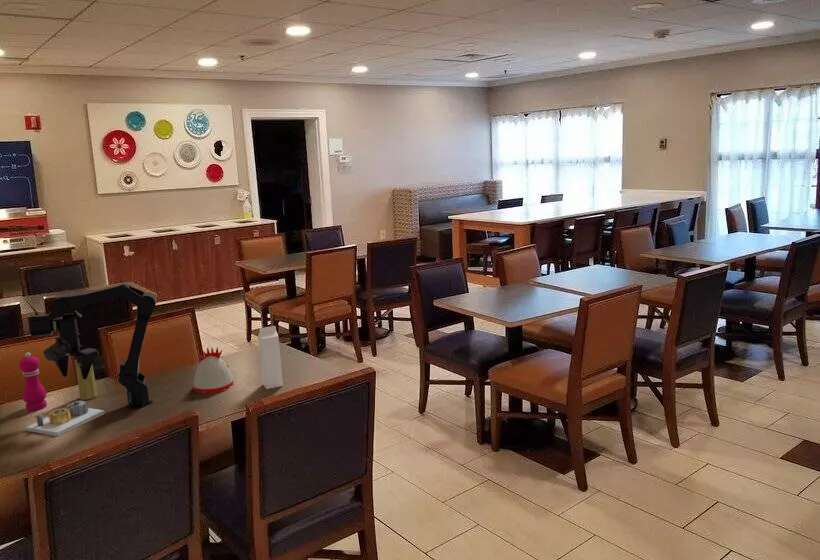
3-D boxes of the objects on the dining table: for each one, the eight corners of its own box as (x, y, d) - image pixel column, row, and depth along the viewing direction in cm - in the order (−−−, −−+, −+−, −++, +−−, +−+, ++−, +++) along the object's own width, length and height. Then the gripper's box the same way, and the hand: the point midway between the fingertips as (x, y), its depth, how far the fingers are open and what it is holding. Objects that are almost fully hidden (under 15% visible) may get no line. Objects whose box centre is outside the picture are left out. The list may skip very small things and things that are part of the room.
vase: (90, 400, 228) (84, 362, 225) (75, 400, 229) (69, 361, 226) (101, 394, 234) (96, 356, 231) (87, 393, 235) (81, 356, 232)
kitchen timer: (232, 390, 231) (228, 351, 228) (192, 395, 228) (187, 355, 225) (234, 378, 244) (230, 340, 241) (196, 382, 242) (192, 344, 239)
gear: (75, 418, 209) (74, 409, 208) (59, 425, 203) (57, 416, 203) (62, 416, 211) (60, 407, 211) (45, 423, 206) (44, 414, 205)
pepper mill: (24, 413, 219) (14, 357, 215) (25, 406, 225) (15, 351, 221) (48, 408, 222) (38, 353, 218) (48, 402, 228) (39, 348, 224)
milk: (262, 384, 236) (256, 326, 232) (278, 381, 238) (273, 324, 234) (266, 389, 230) (260, 330, 226) (283, 386, 233) (277, 327, 229)
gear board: (105, 413, 215) (102, 399, 214) (57, 436, 199) (55, 420, 198) (75, 409, 220) (72, 394, 219) (26, 430, 204) (23, 415, 203)
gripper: (25, 337, 207) (33, 383, 210) (67, 341, 200) (74, 389, 203) (56, 328, 217) (63, 372, 220) (96, 332, 210) (103, 377, 213)
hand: (75, 377), depth 214 cm, fingers open, 9 cm apart
